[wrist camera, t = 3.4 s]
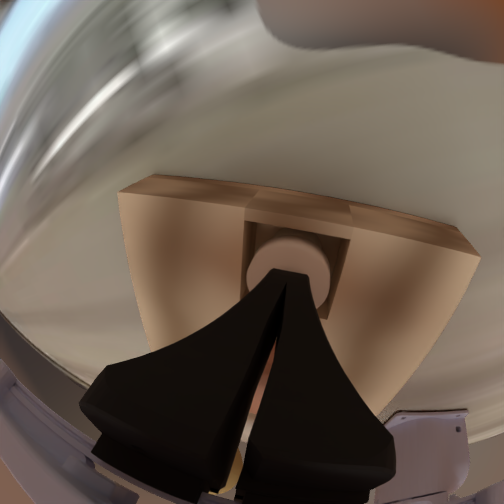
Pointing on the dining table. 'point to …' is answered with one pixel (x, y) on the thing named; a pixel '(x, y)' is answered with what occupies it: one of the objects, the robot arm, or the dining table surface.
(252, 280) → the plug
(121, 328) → the dining table surface
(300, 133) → the dining table surface
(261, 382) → the plug mid
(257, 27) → the dining table surface
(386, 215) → the socket board
